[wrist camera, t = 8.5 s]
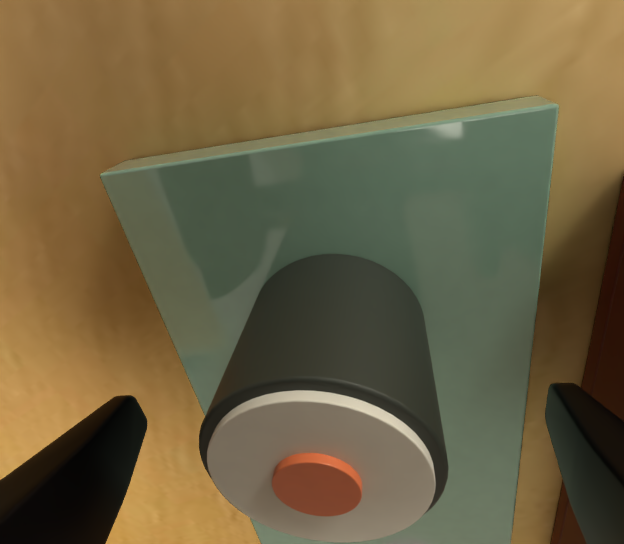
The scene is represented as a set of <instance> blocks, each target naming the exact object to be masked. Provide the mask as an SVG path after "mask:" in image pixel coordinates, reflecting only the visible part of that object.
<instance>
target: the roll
mask: <svg viewBox="0 0 624 544" xmlns="http://www.w3.org/2000/svg"><path fill="white" fill-rule="evenodd" d="M199 449H200V454H201V459H202V461H203V464H204V467H205V469H206V470H207V472H208V474H209V476H210V477H211V479H212V480H213V482H214V484H215V485H216V487H217V489H218V490H219V491H220V492H221V494H222V495H223V496H224V497H225V498H226V499H227V500H228V501H229V502H230V503H231V504H232V505H233V506H235V507H236V508H237V509H238V510H239V511H241V512H242V513H244V514H245V515H247V516H248V517H250V518H252V519H253V520H255V521H257V522H259V523H261V524H263V525H265V526H267V527H270V528H272V529H275V530H277V531H280V532H283V533H286V534H289V535H293V536H296V537H301V538H305V539H310V540H317V541H325V542H361V541H368V540H374V539H378V538H383V537H386V536H389V535H392V534H395V533H397V532H399V531H401V530H404V529H406V528H407V527H409V526H410V525H412V524H414V523H415V522H416V521H417V520H418V519H420V518H421V517H422V516H423V515H424V514H425V513H426V512H428V511H429V510H430V509H431V508H432V507H433V506H434V505H435V504H436V502H437V501H438V500H439V498H440V497H441V495H442V493H443V491H444V488H445V485H446V482H447V479H448V470H449V466H448V458H447V452H446V446H445V440H444V434H443V428H442V422H441V416H440V410H439V404H438V398H437V392H436V386H435V380H434V374H433V368H432V362H431V356H430V350H429V344H428V338H427V332H426V326H425V320H424V314H423V311H422V308H421V305H420V303H419V301H418V299H417V297H416V296H415V294H414V293H413V291H412V290H411V288H410V287H409V286H408V285H407V284H406V283H405V282H404V281H403V280H402V279H401V278H400V277H398V276H397V275H396V274H395V273H393V272H392V271H390V270H389V269H387V268H385V267H384V266H382V265H380V264H377V263H375V262H373V261H370V260H367V259H364V258H361V257H357V256H352V255H345V254H322V255H315V256H310V257H306V258H303V259H300V260H297V261H295V262H293V263H290V264H288V265H287V266H285V267H283V268H282V269H280V270H279V271H278V272H276V273H275V274H274V275H273V276H272V277H271V278H270V279H269V280H268V281H267V282H266V283H265V284H264V286H263V287H262V289H261V290H260V292H259V295H258V297H257V299H256V301H255V304H254V306H253V308H252V310H251V313H250V315H249V317H248V320H247V322H246V324H245V326H244V329H243V331H242V333H241V336H240V338H239V340H238V343H237V345H236V347H235V349H234V352H233V354H232V356H231V359H230V361H229V363H228V365H227V368H226V370H225V372H224V375H223V377H222V379H221V381H220V384H219V386H218V388H217V391H216V393H215V395H214V397H213V400H212V402H211V404H210V407H209V409H208V411H207V414H206V416H205V418H204V420H203V423H202V425H201V429H200V434H199Z"/></svg>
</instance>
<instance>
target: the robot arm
mask: <svg viewBox="0 0 624 544" xmlns="http://www.w3.org/2000/svg"><path fill="white" fill-rule="evenodd" d="M545 418H546V424H547V428H548V431H549V434H550V438H551V441H552V444H553V448H554V451H555V455H556V458H557V461H558V465H559V468H560V471H561V475H562V478H563V481H564V485H565V488H566V491H567V495H568V498H569V501H570V504H571V507H572V509H573V512H574V514H575V517H576V519H577V522H578V524H579V527H580V529H581V531H582V534H583V536H584V538H585V541H586V543H587V544H624V421H623V420H621V419H620V418H619V417H618V416H616V415H615V414H614V413H612V412H611V411H610V410H609V409H607V408H606V407H605V406H603V405H602V404H601V403H600V402H598V401H597V400H596V399H594V398H593V397H592V396H591V395H589V394H588V393H587V392H585V391H584V390H583V389H582V388H580V387H579V386H578V385H576V384H573V383H554V384H551V385H550V387H549V390H548V397H547V404H546V411H545ZM146 430H147V419H146V416H145V414H144V413H143V411H142V409H141V407H140V405H139V403H138V402H137V400H136V398H135V397H133V396H131V395H127V396H116V397H114V398H112V399H111V400H109V401H108V402H107V403H105V404H104V405H103V406H101V407H100V408H98V409H97V410H96V411H94V412H93V413H92V414H90V415H89V416H88V417H86V418H85V419H83V420H82V421H81V422H79V423H78V424H77V425H75V426H74V427H73V428H71V429H70V430H68V431H67V432H66V433H64V434H63V435H62V436H60V437H59V438H58V439H56V440H55V441H53V442H52V443H51V444H49V445H48V446H47V447H45V448H44V449H43V450H41V451H40V452H38V453H37V454H36V455H34V456H33V457H32V458H30V459H29V460H27V461H26V462H25V463H23V464H22V465H21V466H19V467H18V468H17V469H15V470H14V471H12V472H11V473H10V474H8V475H7V476H6V477H4V478H3V479H2V480H0V544H105V543H106V541H107V539H108V536H109V534H110V531H111V529H112V527H113V524H114V522H115V519H116V517H117V515H118V512H119V510H120V508H121V505H122V503H123V500H124V498H125V495H126V492H127V489H128V486H129V484H130V481H131V477H132V474H133V471H134V468H135V465H136V462H137V458H138V455H139V452H140V449H141V446H142V443H143V439H144V436H145V433H146Z"/></svg>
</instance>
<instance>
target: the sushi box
mask: <svg viewBox="0 0 624 544" xmlns="http://www.w3.org/2000/svg"><path fill="white" fill-rule="evenodd" d="M582 389H583V390H584V391H585V392H587V393H588V394H589V395H591V396H592V397H593V398H594V399H596V400H597V401H598V402H600V403H601V404H602V405H603V406H605V407H606V408H607V409H609V410H610V411H611V412H612V413H614V414H615V415H616V416H618V417H619V418H620V419H621V420H623V421H624V176H623V181H622V186H621V191H620V196H619V202H618V207H617V212H616V217H615V222H614V227H613V232H612V237H611V242H610V247H609V252H608V257H607V262H606V267H605V272H604V277H603V282H602V287H601V293H600V298H599V303H598V308H597V313H596V318H595V323H594V328H593V333H592V338H591V343H590V348H589V353H588V358H587V363H586V368H585V373H584V378H583V383H582ZM551 544H587V543H586V541H585V538H584V536H583V534H582V531H581V529H580V527H579V524H578V522H577V519H576V517H575V514H574V512H573V509H572V507H571V504H570V501H569V498H568V495H567V491H566V488H565V485H564V481H563V485H562V490H561V495H560V500H559V505H558V510H557V515H556V520H555V525H554V530H553V535H552V540H551Z"/></svg>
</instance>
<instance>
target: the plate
mask: <svg viewBox="0 0 624 544" xmlns="http://www.w3.org/2000/svg"><path fill="white" fill-rule="evenodd" d="M558 112H559V105H558V104H557V103H554V102H552V101H550V100H547V99H545V98H543V97H540V96H537V95H536V96H530V97H523V98H517V99H511V100H504V101H498V102H492V103H485V104H479V105H473V106H467V107H460V108H454V109H448V110H441V111H435V112H429V113H422V114H416V115H410V116H403V117H397V118H391V119H385V120H378V121H372V122H366V123H359V124H353V125H347V126H340V127H334V128H328V129H321V130H315V131H309V132H303V133H296V134H290V135H284V136H277V137H271V138H265V139H258V140H252V141H246V142H240V143H233V144H227V145H221V146H214V147H208V148H202V149H195V150H189V151H183V152H176V153H170V154H164V155H158V156H151V157H145V158H139V159H132V160H126V161H123V162H121V163H120V164H118V165H116V166H114V167H112V168H110V169H108V170H106V171H105V172H103V173H101V174H100V178H101V180H102V183H103V185H104V187H105V190H106V192H107V194H108V196H109V199H110V201H111V203H112V205H113V208H114V210H115V212H116V215H117V217H118V219H119V221H120V224H121V226H122V228H123V231H124V233H125V235H126V237H127V240H128V242H129V244H130V246H131V249H132V251H133V253H134V256H135V258H136V260H137V262H138V265H139V267H140V269H141V271H142V274H143V276H144V278H145V281H146V283H147V285H148V287H149V290H150V292H151V294H152V297H153V299H154V301H155V303H156V306H157V308H158V310H159V312H160V315H161V317H162V319H163V322H164V324H165V326H166V328H167V331H168V333H169V335H170V338H171V340H172V342H173V344H174V347H175V349H176V351H177V353H178V356H179V358H180V360H181V363H182V365H183V367H184V369H185V372H186V374H187V376H188V379H189V381H190V383H191V385H192V388H193V390H194V392H195V394H196V397H197V399H198V401H199V404H200V406H201V408H202V410H203V413H204V415H205V416H206V414H207V411H208V409H209V407H210V404H211V402H212V400H213V397H214V395H215V393H216V391H217V388H218V386H219V384H220V381H221V379H222V377H223V375H224V372H225V370H226V368H227V365H228V363H229V361H230V359H231V356H232V354H233V352H234V349H235V347H236V345H237V343H238V340H239V338H240V336H241V333H242V331H243V329H244V326H245V324H246V322H247V320H248V317H249V315H250V313H251V310H252V308H253V306H254V304H255V301H256V299H257V297H258V295H259V292H260V290H261V289H262V287H263V286H264V284H265V283H266V282H267V281H268V280H269V279H270V278H271V277H272V276H273V275H274V274H275V273H276V272H278V271H279V270H280V269H282V268H283V267H285V266H287V265H288V264H290V263H293V262H295V261H297V260H300V259H303V258H306V257H310V256H315V255H322V254H345V255H352V256H357V257H361V258H364V259H367V260H370V261H373V262H375V263H377V264H380V265H382V266H384V267H385V268H387V269H389V270H390V271H392V272H393V273H395V274H396V275H397V276H398V277H400V278H401V279H402V280H403V281H404V282H405V283H406V284H407V285H408V286H409V287H410V288H411V290H412V291H413V293H414V294H415V296H416V297H417V299H418V301H419V303H420V305H421V308H422V311H423V314H424V320H425V326H426V332H427V338H428V344H429V350H430V356H431V362H432V368H433V374H434V380H435V386H436V392H437V398H438V404H439V410H440V416H441V422H442V428H443V434H444V440H445V446H446V452H447V458H448V466H449V470H448V479H447V482H446V485H445V488H444V491H443V493H442V495H441V497H440V498H439V500H438V501H437V502H436V504H435V505H434V506H433V507H432V508H431V509H430V510H429V511H428V512H426V513H425V514H424V515H423V516H422V517H421V518H420V519H418V520H417V521H416V522H415V523H414V524H412V525H410V526H409V527H407V528H406V529H404V530H401V531H399V532H397V533H395V534H392V535H389V536H386V537H383V538H378V539H374V540H368V541H361V542H325V541H317V540H310V539H305V538H301V537H296V536H293V535H289V534H286V533H283V532H280V531H277V530H275V529H272V528H270V527H267V526H265V525H263V524H261V523H259V522H257V521H255V520H253V519H252V518H250V520H251V522H252V524H253V526H254V529H255V531H256V533H257V536H258V538H259V540H260V542H261V544H511V538H512V529H513V520H514V511H515V502H516V493H517V484H518V475H519V466H520V457H521V448H522V439H523V430H524V421H525V411H526V402H527V393H528V384H529V375H530V366H531V357H532V348H533V339H534V330H535V321H536V312H537V303H538V293H539V284H540V275H541V266H542V257H543V248H544V239H545V230H546V221H547V212H548V203H549V194H550V185H551V176H552V166H553V157H554V148H555V139H556V130H557V121H558Z"/></svg>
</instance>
